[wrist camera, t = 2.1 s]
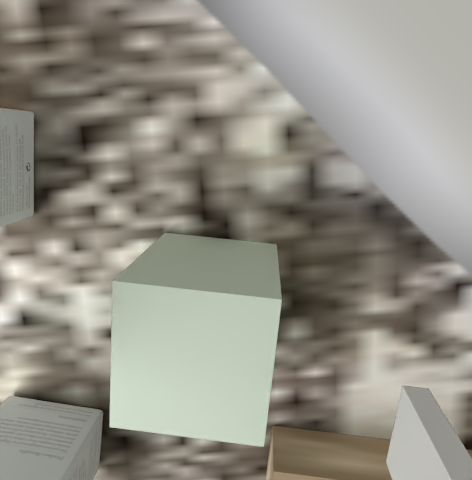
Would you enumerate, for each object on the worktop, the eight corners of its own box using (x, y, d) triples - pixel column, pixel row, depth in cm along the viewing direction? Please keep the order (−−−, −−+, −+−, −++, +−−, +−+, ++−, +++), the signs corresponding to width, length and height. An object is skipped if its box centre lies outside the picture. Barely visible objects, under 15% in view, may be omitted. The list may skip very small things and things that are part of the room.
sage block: (264, 346, 24) (263, 446, 16) (160, 334, 24) (109, 427, 16) (276, 244, 22) (282, 299, 15) (165, 232, 23) (112, 281, 15)
